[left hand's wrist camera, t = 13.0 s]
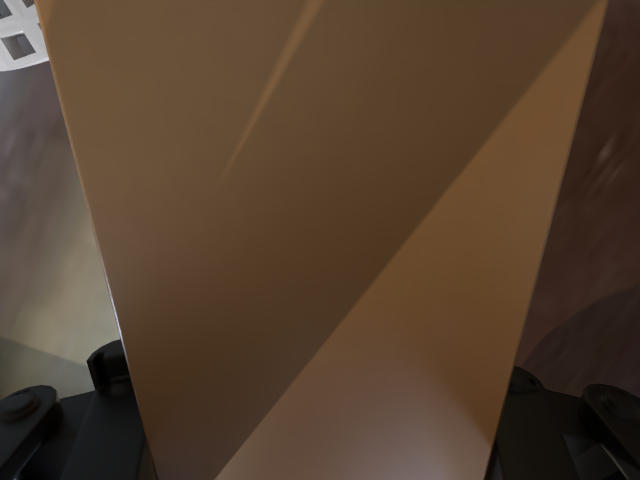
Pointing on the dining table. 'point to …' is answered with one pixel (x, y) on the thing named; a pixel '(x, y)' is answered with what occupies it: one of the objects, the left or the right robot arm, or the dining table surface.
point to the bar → (321, 218)
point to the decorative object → (3, 46)
